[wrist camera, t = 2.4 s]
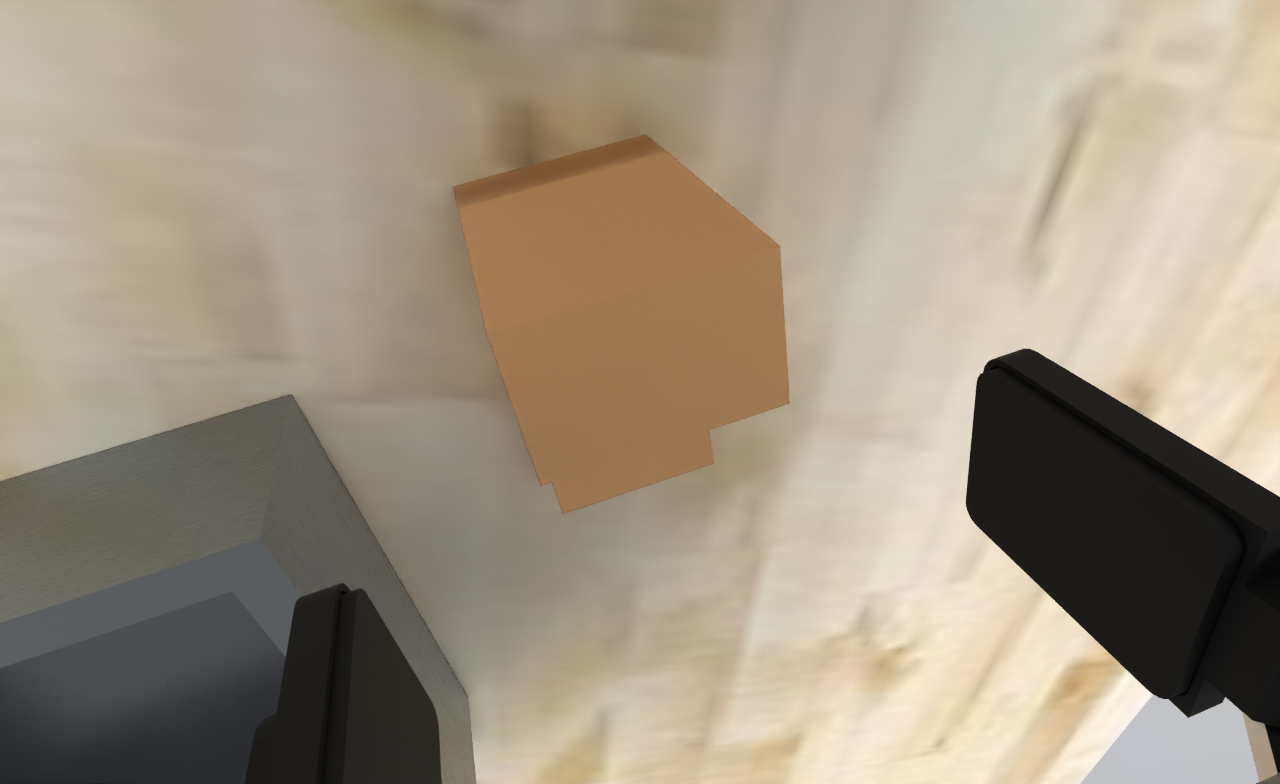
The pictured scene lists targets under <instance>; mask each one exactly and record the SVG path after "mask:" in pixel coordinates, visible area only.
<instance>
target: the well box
mask: <svg viewBox="0 0 1280 784" xmlns="http://www.w3.org/2000/svg"><path fill="white" fill-rule="evenodd" d="M341 583H344V584H345V585H347V586H348V588H349V589H350V590H351V591H353V590H356V589H359V588H362V589H363V590H364V591H365V592H366V593H367V595H368V596H369V598H370V600H371V601H372V603H373V605H374V606H375V608H376V610H377V611H378V613H379V615H380V616H381V618H382V620H383V621H384V623H385V625H386V626H387V628H388V630H389V631H390V633H391V635H392V636H393V638H394V639H395V641H396V643H397V644H398V646H399V648H400V649H401V651H402V653H403V654H404V656H405V658H406V659H407V661H408V663H409V664H410V666H411V668H412V669H413V671H414V673H415V674H416V676H417V678H418V679H419V681H420V683H421V684H422V686H423V687H424V689H425V691H426V692H427V694H428V696H429V697H430V699H431V701H432V703H433V705H434V708H435V711H436V714H437V719H438V724H439V739H440V759H441V779H442V784H476V775H475V765H474V755H473V744H472V734H471V724H470V713H469V703H468V696H467V694H466V693H465V691H464V689H463V688H462V686H461V684H460V682H459V681H458V679H457V677H456V676H455V674H454V672H453V670H452V669H451V667H450V665H449V664H448V662H447V660H446V658H445V657H444V655H443V653H442V652H441V650H440V648H439V646H438V645H437V643H436V641H435V640H434V638H433V636H432V634H431V633H430V631H429V629H428V628H427V626H426V624H425V623H424V621H423V619H422V617H421V616H420V614H419V612H418V611H417V609H416V607H415V605H414V604H413V602H412V600H411V599H410V597H409V595H408V593H407V592H406V590H405V588H404V587H403V585H402V583H401V581H400V580H399V578H398V576H397V575H396V573H395V571H394V569H393V568H392V566H391V564H390V563H389V561H388V559H387V558H386V556H385V554H384V552H383V551H382V549H381V547H380V546H379V544H378V542H377V540H376V539H375V537H374V535H373V534H372V532H371V530H370V528H369V527H368V525H367V523H366V522H365V520H364V518H363V516H362V515H361V513H360V511H359V510H358V508H357V506H356V504H355V503H354V501H353V499H352V498H351V496H350V494H349V493H348V491H347V489H346V487H345V486H344V484H343V482H342V481H341V479H340V477H339V475H338V474H337V472H336V470H335V469H334V467H333V465H332V463H331V462H330V460H329V458H328V457H327V455H326V453H325V451H324V450H323V448H322V446H321V445H320V443H319V441H318V439H317V438H316V436H315V434H314V433H313V431H312V429H311V428H310V426H309V424H308V422H307V421H306V419H305V417H304V416H303V414H302V412H301V410H300V409H299V407H298V405H297V404H296V402H295V400H294V398H293V397H292V395H288V396H284V397H281V398H278V399H274V400H271V401H268V402H264V403H261V404H258V405H254V406H251V407H248V408H244V409H241V410H238V411H234V412H231V413H228V414H224V415H221V416H218V417H214V418H211V419H208V420H204V421H201V422H198V423H194V424H191V425H188V426H184V427H181V428H178V429H174V430H171V431H168V432H164V433H161V434H158V435H154V436H151V437H148V438H144V439H141V440H138V441H134V442H131V443H128V444H124V445H121V446H118V447H114V448H111V449H108V450H104V451H101V452H98V453H94V454H91V455H88V456H84V457H81V458H78V459H74V460H71V461H68V462H64V463H61V464H58V465H54V466H51V467H48V468H44V469H41V470H38V471H34V472H31V473H28V474H24V475H21V476H18V477H14V478H11V479H8V480H4V481H1V482H0V784H244V783H245V778H246V773H247V768H248V763H249V758H250V752H251V747H252V742H253V738H254V735H255V732H256V729H257V727H258V725H259V724H260V722H261V721H262V719H264V718H266V717H268V716H270V715H273V714H276V712H277V706H278V700H279V694H280V688H281V682H282V677H283V671H284V665H285V659H286V653H287V647H288V641H289V635H290V629H291V623H292V617H293V611H294V606H295V603H296V601H297V600H298V598H299V597H302V596H305V595H308V594H311V593H314V592H317V591H320V590H323V589H326V588H328V587H331V586H334V585H337V584H341Z"/></svg>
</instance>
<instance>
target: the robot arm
mask: <svg viewBox="0 0 1280 784" xmlns="http://www.w3.org/2000/svg"><path fill="white" fill-rule="evenodd" d="M966 507H967V511H968V513H969V515H970V517H971V519H972V520H973V522H974V523H975V524H976V525H977V526H978V527H979V528H980V529H981V530H982V531H983V532H984V533H985V534H986V535H987V536H988V537H989V538H990V539H991V540H992V541H993V542H994V543H995V544H996V545H997V546H998V547H1000V548H1001V549H1002V550H1003V551H1004V552H1005V553H1006V554H1007V555H1008V556H1009V557H1010V558H1011V559H1012V560H1013V561H1014V562H1015V563H1016V564H1017V565H1018V566H1019V567H1020V568H1021V569H1022V570H1023V571H1024V572H1026V573H1027V574H1028V575H1029V576H1030V577H1031V578H1032V579H1033V580H1034V581H1035V582H1036V583H1037V584H1038V585H1039V586H1040V587H1041V588H1042V589H1043V590H1044V591H1045V592H1046V593H1047V594H1048V595H1049V596H1051V597H1052V598H1053V599H1054V600H1055V601H1056V602H1057V603H1058V604H1059V605H1060V606H1061V607H1062V608H1063V609H1064V610H1065V611H1066V612H1067V613H1068V614H1069V615H1070V616H1071V617H1072V618H1073V619H1074V620H1075V621H1077V622H1078V623H1079V624H1080V625H1081V626H1082V627H1083V628H1084V629H1085V630H1086V631H1087V632H1088V633H1089V634H1090V635H1091V636H1092V637H1093V638H1094V639H1095V640H1096V641H1097V642H1098V643H1099V644H1100V645H1101V646H1103V647H1104V648H1105V649H1106V650H1107V651H1108V652H1109V653H1110V654H1111V655H1112V656H1113V657H1114V658H1115V659H1116V660H1117V661H1118V662H1119V663H1120V664H1121V665H1122V666H1123V667H1124V668H1125V669H1126V670H1127V671H1129V672H1130V673H1131V674H1132V675H1133V676H1134V677H1135V678H1136V679H1137V680H1138V681H1139V682H1140V683H1141V684H1142V685H1143V686H1144V687H1145V688H1146V689H1147V690H1149V691H1150V692H1151V693H1152V694H1154V695H1156V696H1158V697H1159V698H1163V699H1169V700H1170V701H1171V702H1172V703H1173V704H1174V705H1175V706H1177V707H1178V708H1179V709H1180V710H1181V711H1182V712H1183V713H1184V714H1185V715H1186V716H1187V717H1191V716H1193V715H1196V714H1198V713H1200V712H1202V711H1204V710H1207V709H1209V708H1211V707H1213V706H1216V705H1218V704H1220V703H1222V702H1223V700H1224V698H1225V697H1226V698H1227V699H1229V700H1230V701H1231V702H1232V703H1233V704H1234V705H1235V706H1236V707H1238V708H1239V709H1240V710H1241V711H1242V712H1243V717H1244V721H1245V725H1246V729H1247V733H1248V737H1249V741H1250V745H1251V750H1252V753H1253V758H1254V762H1255V766H1256V770H1257V774H1258V778H1259V783H1256V784H1280V497H1279V496H1277V495H1276V494H1274V493H1272V492H1270V491H1269V490H1267V489H1265V488H1264V487H1262V486H1260V485H1259V484H1257V483H1255V482H1254V481H1252V480H1250V479H1249V478H1247V477H1245V476H1244V475H1242V474H1240V473H1239V472H1237V471H1235V470H1234V469H1232V468H1230V467H1229V466H1227V465H1225V464H1224V463H1222V462H1220V461H1219V460H1217V459H1215V458H1214V457H1212V456H1210V455H1209V454H1207V453H1205V452H1204V451H1202V450H1200V449H1199V448H1197V447H1195V446H1193V445H1192V444H1190V443H1188V442H1187V441H1185V440H1183V439H1182V438H1180V437H1178V436H1177V435H1175V434H1173V433H1172V432H1170V431H1168V430H1167V429H1165V428H1163V427H1162V426H1160V425H1158V424H1157V423H1155V422H1153V421H1152V420H1150V419H1148V418H1147V417H1145V416H1143V415H1142V414H1140V413H1138V412H1137V411H1135V410H1133V409H1132V408H1130V407H1128V406H1127V405H1125V404H1123V403H1121V402H1120V401H1118V400H1116V399H1115V398H1113V397H1111V396H1110V395H1108V394H1106V393H1105V392H1103V391H1101V390H1100V389H1098V388H1096V387H1095V386H1093V385H1091V384H1090V383H1088V382H1086V381H1085V380H1083V379H1081V378H1080V377H1078V376H1076V375H1075V374H1073V373H1071V372H1070V371H1068V370H1066V369H1065V368H1063V367H1061V366H1060V365H1058V364H1056V363H1055V362H1053V361H1051V360H1049V359H1048V358H1046V357H1044V356H1043V355H1041V354H1039V353H1038V352H1036V351H1034V350H1031V349H1021V350H1018V351H1016V352H1013V353H1010V354H1007V355H1004V356H1001V357H998V358H995V359H992V360H990V361H988V363H987V364H986V365H985V367H984V371H983V373H982V374H980V376H979V377H978V380H977V386H976V397H975V408H974V419H973V429H972V440H971V451H970V462H969V473H968V484H967V494H966ZM244 784H442V779H441V759H440V739H439V724H438V719H437V714H436V711H435V708H434V705H433V703H432V701H431V699H430V697H429V696H428V694H427V692H426V691H425V689H424V687H423V686H422V684H421V683H420V681H419V679H418V678H417V676H416V674H415V673H414V671H413V669H412V668H411V666H410V664H409V663H408V661H407V659H406V658H405V656H404V654H403V653H402V651H401V649H400V648H399V646H398V644H397V643H396V641H395V639H394V638H393V636H392V635H391V633H390V631H389V630H388V628H387V626H386V625H385V623H384V621H383V620H382V618H381V616H380V615H379V613H378V611H377V610H376V608H375V606H374V605H373V603H372V601H371V600H370V598H369V596H368V595H367V593H366V592H365V591H364V590H363V589H362V588H359V589H356V590H353V591H351V590H350V589H349V588H348V586H347V585H345V584H344V583H341V584H337V585H334V586H331V587H328V588H326V589H323V590H320V591H317V592H314V593H311V594H308V595H305V596H302V597H299V598H298V600H297V601H296V603H295V606H294V611H293V617H292V623H291V629H290V635H289V641H288V647H287V653H286V659H285V665H284V671H283V677H282V682H281V688H280V694H279V700H278V706H277V712H276V714H273V715H270V716H268V717H266V718H264V719H262V721H261V722H260V724H259V725H258V727H257V729H256V732H255V735H254V738H253V742H252V747H251V752H250V758H249V763H248V768H247V773H246V778H245V783H244Z"/></svg>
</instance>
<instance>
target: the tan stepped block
mask: <svg viewBox="0 0 1280 784" xmlns="http://www.w3.org/2000/svg"><path fill="white" fill-rule="evenodd" d="M453 188H454V193H455V197H456V202H457V206H458V210H459V215H460V219H461V224H462V228H463V232H464V237H465V241H466V246H467V250H468V255H469V259H470V263H471V268H472V272H473V277H474V281H475V285H476V290H477V294H478V299H479V303H480V307H481V312H482V316H483V321H484V325H485V329H486V334H487V337H488V339H489V342H490V345H491V348H492V351H493V353H494V356H495V359H496V362H497V365H498V367H499V370H500V373H501V376H502V379H503V381H504V384H505V387H506V390H507V393H508V395H509V398H510V401H511V404H512V407H513V409H514V412H515V415H516V418H517V421H518V423H519V426H520V429H521V432H522V435H523V437H524V440H525V443H526V446H527V449H528V451H529V454H530V457H531V460H532V463H533V465H534V468H535V471H536V474H537V477H538V479H539V482H540V485H541V486H542V485H545V484H548V483H551V482H552V484H553V487H554V490H555V493H556V496H557V498H558V501H559V504H560V507H561V510H562V513H563V514H565V513H568V512H571V511H574V510H577V509H580V508H583V507H586V506H589V505H592V504H595V503H597V502H600V501H603V500H606V499H609V498H612V497H615V496H618V495H621V494H624V493H627V492H630V491H633V490H636V489H639V488H642V487H645V486H648V485H651V484H654V483H657V482H660V481H662V480H665V479H668V478H671V477H674V476H677V475H680V474H683V473H686V472H689V471H692V470H695V469H698V468H701V467H704V466H707V465H710V464H713V456H712V449H711V443H710V436H709V430H710V429H713V428H717V427H720V426H723V425H726V424H729V423H732V422H735V421H738V420H741V419H744V418H747V417H750V416H753V415H756V414H759V413H762V412H765V411H768V410H771V409H774V408H777V407H780V406H783V405H786V404H789V403H790V401H789V385H788V369H787V353H786V337H785V321H784V306H783V290H782V274H781V258H780V246H779V245H778V244H777V243H776V242H775V241H773V240H772V239H771V238H770V237H769V236H767V235H766V234H765V233H764V232H763V231H761V230H760V229H759V228H758V227H757V226H755V225H754V224H753V223H752V222H750V221H749V220H748V219H747V218H746V217H744V216H743V215H742V214H741V213H740V212H738V211H737V210H736V209H735V208H734V207H732V206H731V205H730V204H729V203H728V202H726V201H725V200H724V199H723V198H722V197H720V196H719V195H718V194H717V193H716V192H714V191H713V190H712V189H711V188H710V187H708V186H707V185H706V184H705V183H704V182H702V181H701V180H700V179H699V178H697V177H696V176H695V175H694V174H693V173H691V172H690V171H689V170H688V169H687V168H685V167H684V166H683V165H682V164H681V163H679V162H678V161H677V160H676V159H675V158H673V157H672V156H671V155H670V154H669V153H667V152H666V151H665V150H664V149H663V148H661V147H660V146H659V145H658V144H657V143H655V142H654V141H653V140H652V139H651V138H649V137H648V136H647V135H642V136H638V137H635V138H631V139H627V140H624V141H620V142H616V143H613V144H609V145H605V146H601V147H598V148H594V149H590V150H587V151H583V152H579V153H575V154H572V155H568V156H564V157H561V158H557V159H553V160H550V161H546V162H542V163H538V164H535V165H531V166H527V167H524V168H520V169H516V170H513V171H509V172H505V173H501V174H498V175H494V176H490V177H487V178H483V179H479V180H476V181H472V182H468V183H464V184H461V185H457V186H453Z"/></svg>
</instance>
